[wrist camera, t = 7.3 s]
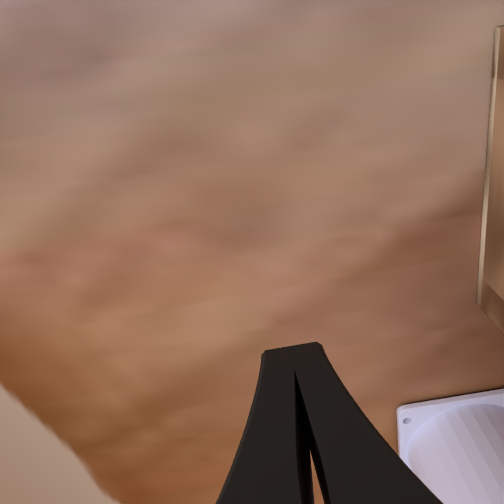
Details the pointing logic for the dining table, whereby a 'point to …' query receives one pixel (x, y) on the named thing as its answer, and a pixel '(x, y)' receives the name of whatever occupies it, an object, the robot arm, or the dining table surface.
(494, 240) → the box
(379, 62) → the dining table surface
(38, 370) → the dining table surface
